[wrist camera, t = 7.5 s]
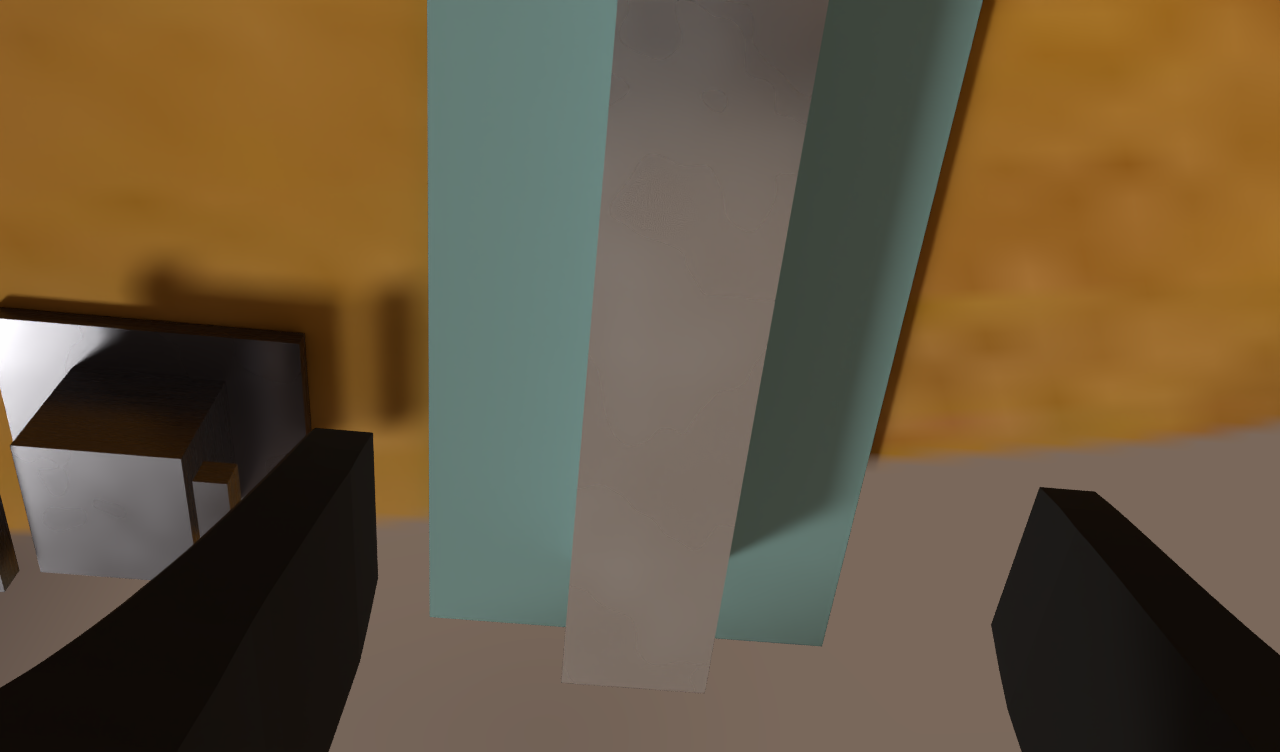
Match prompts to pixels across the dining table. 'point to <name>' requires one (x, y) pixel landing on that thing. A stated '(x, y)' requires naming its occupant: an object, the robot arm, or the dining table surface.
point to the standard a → (140, 433)
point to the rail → (681, 322)
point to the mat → (564, 283)
